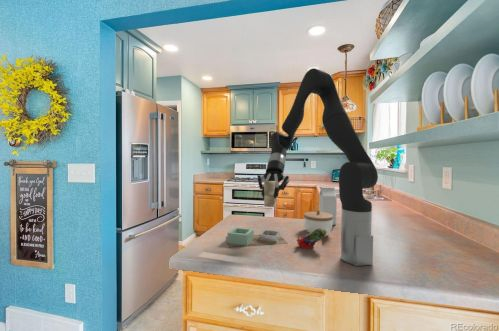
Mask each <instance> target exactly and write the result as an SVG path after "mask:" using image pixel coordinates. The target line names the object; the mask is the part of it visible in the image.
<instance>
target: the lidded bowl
mask: <svg viewBox="0 0 499 331" xmlns="http://www.w3.org/2000/svg"><path fill="white" fill-rule="evenodd" d="M303 221H304V227H305V230H306V232H308V234H309V233H312V232H314V231H315V230H316V229H319V228H321V229H324V230H326V235H325V237H326V236H327V235H329V233H330V232H331V231H332V229H333V228H332V227H333V225H332V224H333V215H331V214H329V213H325V212H320V210H319V209H317V210H316V211H307V212H304V214H303Z"/></svg>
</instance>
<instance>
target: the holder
mask: <svg viewBox="0 0 499 331" xmlns="http://www.w3.org/2000/svg"><path fill="white" fill-rule="evenodd" d="M258 235H259V241H264V242H272V243H277V242H278V240H279V239H280V236H281V231H280V230H269V229H264V230H262V231H261V232H260V234H258Z"/></svg>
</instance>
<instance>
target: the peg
mask: <svg viewBox="0 0 499 331" xmlns="http://www.w3.org/2000/svg"><path fill="white" fill-rule="evenodd" d="M263 182H264V183H263V184H264V198H263V204H264V205H263V206H264V207H265V208H266V207H267V208H275V207H276V206H277V197H276V198H274V191H275V188H276V181H265V180H263Z"/></svg>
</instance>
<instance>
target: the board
mask: <svg viewBox="0 0 499 331" xmlns="http://www.w3.org/2000/svg"><path fill="white" fill-rule="evenodd" d="M259 235H260V234H254V239H253V240H252V241H251V242H250V243H249V244H248V245H247V246H245V245H237V244H230V243H227V242H226V243H227V247H228V249H230V248H231V249H232V248H243V247H244V248H245V247H257V246H259V247H260V246H270V245H271V246H273V245H274V246H275V245H285V244H287V245H288V244H289V243H288V241H287V240H285V238H284V237H282V236H281V235H280V239H279V240H278V242H277V243H272V242H264V241H259ZM225 239H226V241H227V236H225Z"/></svg>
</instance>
